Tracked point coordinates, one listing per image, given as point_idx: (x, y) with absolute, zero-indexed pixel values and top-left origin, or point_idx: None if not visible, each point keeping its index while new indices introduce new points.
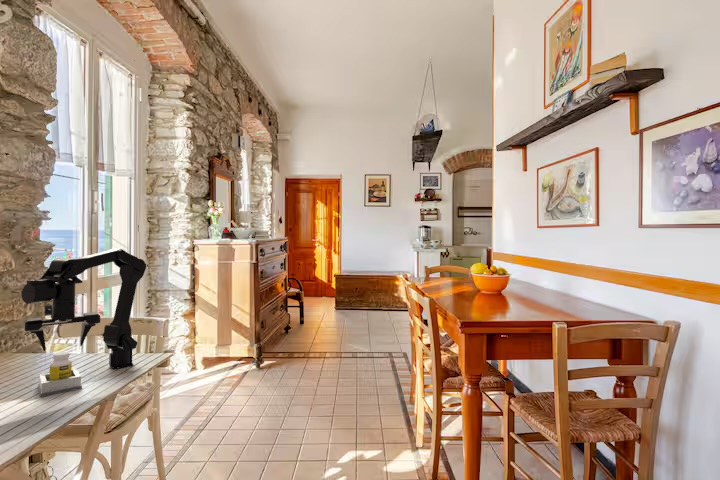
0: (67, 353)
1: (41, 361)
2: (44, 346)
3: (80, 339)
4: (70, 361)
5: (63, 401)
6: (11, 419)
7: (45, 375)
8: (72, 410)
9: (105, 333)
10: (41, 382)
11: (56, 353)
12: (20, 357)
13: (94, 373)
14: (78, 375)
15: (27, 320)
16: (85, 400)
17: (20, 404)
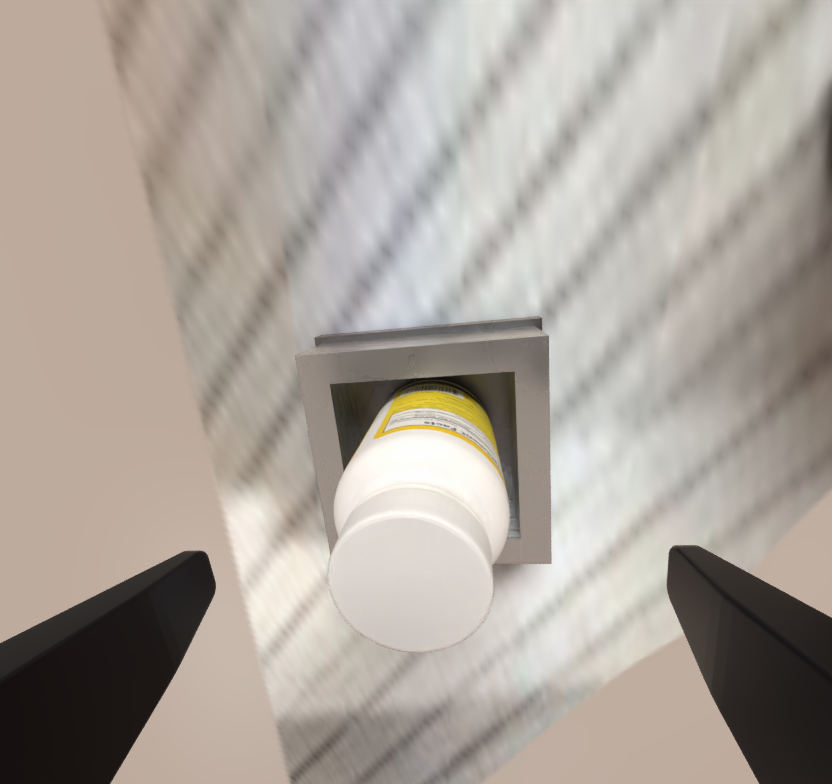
0: (472, 623)
1: None
2: (158, 680)
3: (745, 658)
4: (498, 556)
5: None
6: (283, 699)
7: (336, 382)
8: (478, 749)
9: None
10: (329, 544)
11: (356, 559)
12: None
13: (671, 220)
14: (539, 535)
15: None
16: (536, 683)
17: (283, 567)
